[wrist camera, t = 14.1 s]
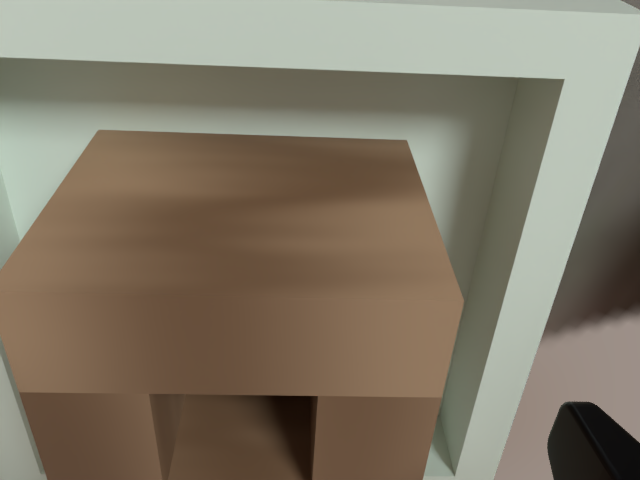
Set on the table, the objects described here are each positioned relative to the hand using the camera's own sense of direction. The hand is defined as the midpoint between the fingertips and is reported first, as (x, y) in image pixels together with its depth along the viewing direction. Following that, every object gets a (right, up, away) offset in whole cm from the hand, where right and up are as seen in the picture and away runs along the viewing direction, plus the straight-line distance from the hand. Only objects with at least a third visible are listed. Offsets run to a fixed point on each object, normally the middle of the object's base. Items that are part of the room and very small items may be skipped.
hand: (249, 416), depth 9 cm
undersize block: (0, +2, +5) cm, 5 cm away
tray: (0, +2, +5) cm, 6 cm away
